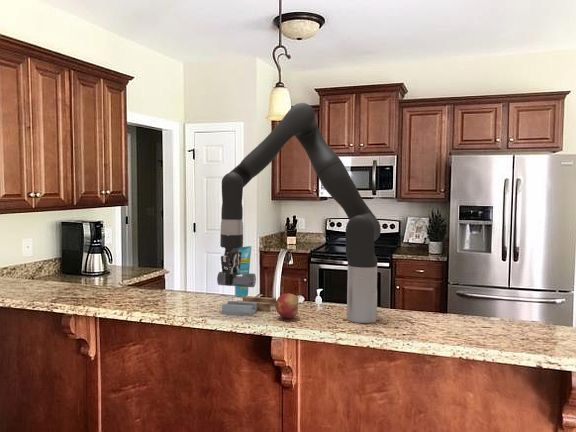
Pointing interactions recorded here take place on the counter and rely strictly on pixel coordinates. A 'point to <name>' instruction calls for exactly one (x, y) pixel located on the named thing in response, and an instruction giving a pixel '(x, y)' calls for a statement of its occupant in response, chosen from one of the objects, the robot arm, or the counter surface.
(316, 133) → the robot arm
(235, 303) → the v block
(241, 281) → the grey cylinder
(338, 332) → the counter surface
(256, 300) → the brown flat wooden block
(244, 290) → the tube
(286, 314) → the fruit
